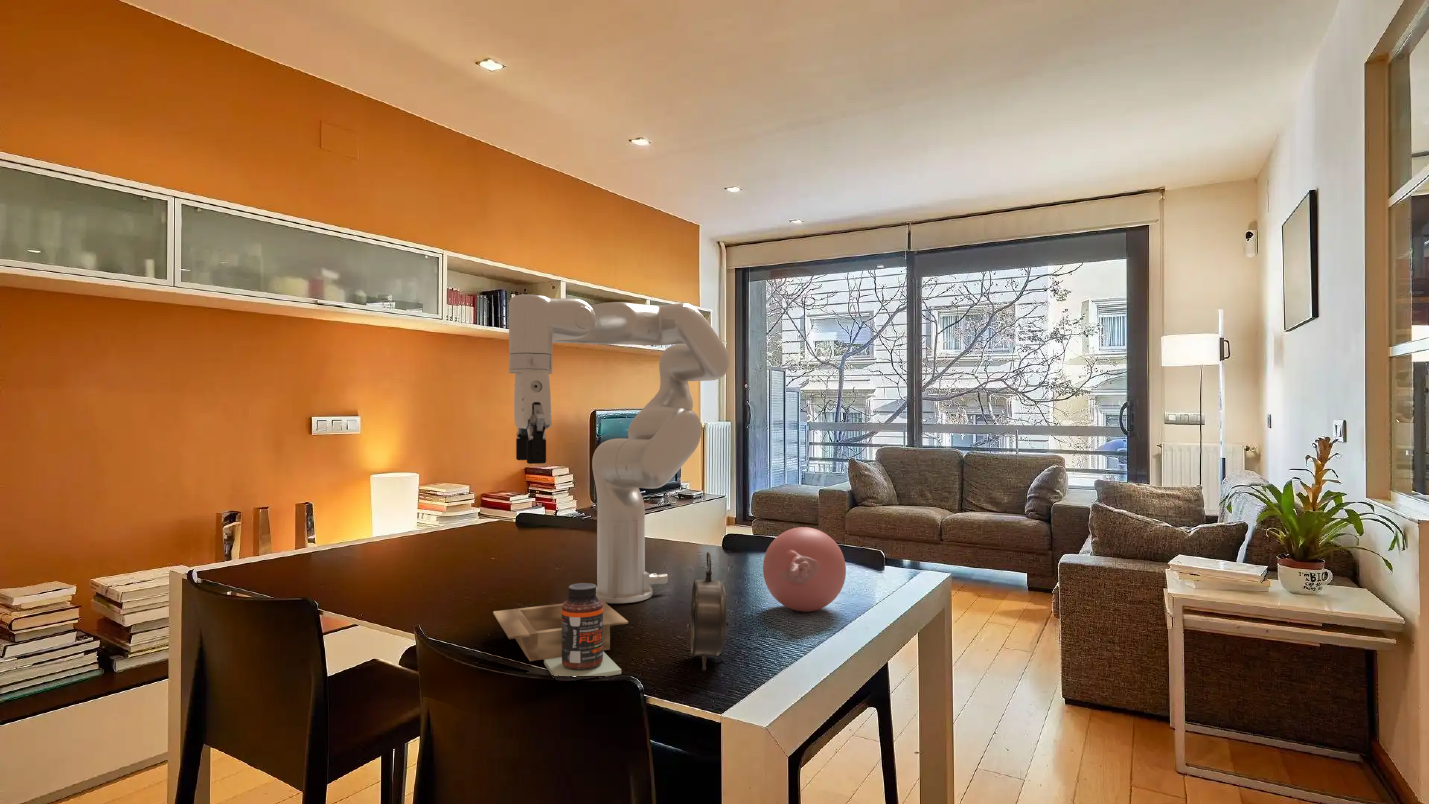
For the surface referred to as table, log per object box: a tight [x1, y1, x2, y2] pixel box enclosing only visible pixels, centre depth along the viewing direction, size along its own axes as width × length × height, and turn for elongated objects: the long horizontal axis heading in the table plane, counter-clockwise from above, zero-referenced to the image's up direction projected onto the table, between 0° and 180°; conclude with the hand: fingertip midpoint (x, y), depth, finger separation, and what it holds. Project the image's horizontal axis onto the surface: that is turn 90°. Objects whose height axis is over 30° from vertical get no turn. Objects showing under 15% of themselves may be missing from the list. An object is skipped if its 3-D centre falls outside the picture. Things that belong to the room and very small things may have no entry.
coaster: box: [543, 650, 622, 677], centre depth 106 cm, size 9×9×1 cm
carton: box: [492, 599, 629, 662], centre depth 119 cm, size 18×15×4 cm
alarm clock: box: [689, 551, 730, 672], centre depth 109 cm, size 11×5×16 cm, turn 5°
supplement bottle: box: [562, 582, 604, 670], centre depth 106 cm, size 6×6×11 cm
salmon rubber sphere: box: [762, 526, 847, 613], centre depth 135 cm, size 15×20×15 cm
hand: (530, 461), depth 130 cm, fingers open, 9 cm apart
